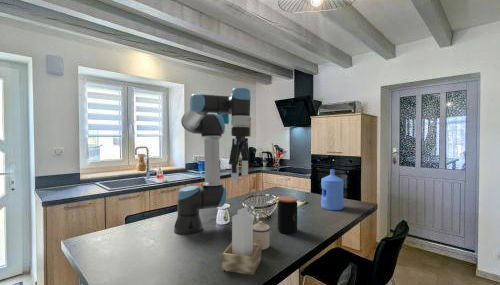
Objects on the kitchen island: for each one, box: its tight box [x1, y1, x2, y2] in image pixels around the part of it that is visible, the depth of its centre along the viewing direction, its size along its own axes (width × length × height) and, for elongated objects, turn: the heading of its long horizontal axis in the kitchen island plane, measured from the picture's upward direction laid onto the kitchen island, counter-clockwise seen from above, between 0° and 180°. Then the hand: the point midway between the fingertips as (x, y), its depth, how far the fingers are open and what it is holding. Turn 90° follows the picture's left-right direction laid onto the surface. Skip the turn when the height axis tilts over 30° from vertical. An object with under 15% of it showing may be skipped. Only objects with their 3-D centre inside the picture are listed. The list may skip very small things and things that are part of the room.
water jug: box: [320, 168, 345, 211], centre depth 186 cm, size 16×16×28 cm
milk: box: [231, 206, 254, 257], centre depth 102 cm, size 6×6×22 cm
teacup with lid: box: [253, 220, 271, 251], centre depth 119 cm, size 12×9×12 cm
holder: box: [221, 241, 262, 276], centre depth 103 cm, size 13×13×6 cm
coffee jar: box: [277, 195, 298, 235], centre depth 140 cm, size 11×11×18 cm
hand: (240, 178), depth 105 cm, fingers open, 13 cm apart
